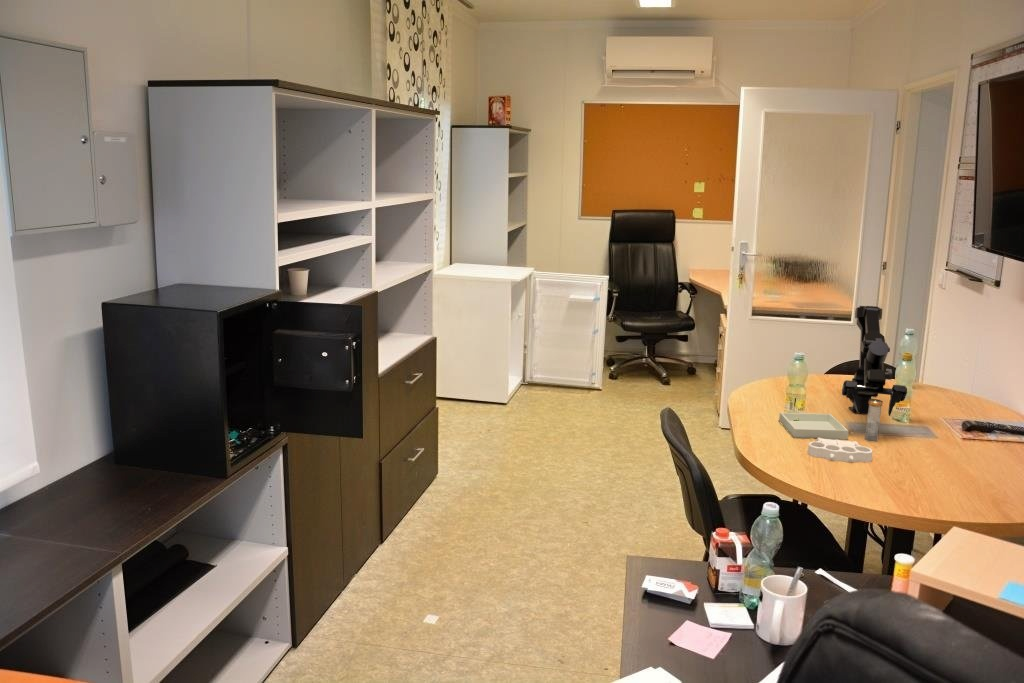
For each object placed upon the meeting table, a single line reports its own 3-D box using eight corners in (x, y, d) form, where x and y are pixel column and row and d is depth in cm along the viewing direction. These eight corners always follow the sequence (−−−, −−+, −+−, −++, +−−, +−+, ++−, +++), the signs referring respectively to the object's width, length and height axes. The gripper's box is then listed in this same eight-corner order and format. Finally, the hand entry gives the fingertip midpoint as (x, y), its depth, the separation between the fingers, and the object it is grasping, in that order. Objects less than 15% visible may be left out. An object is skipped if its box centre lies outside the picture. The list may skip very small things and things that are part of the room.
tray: (779, 420, 276) (779, 412, 275) (829, 422, 275) (830, 413, 275) (793, 438, 259) (794, 429, 259) (847, 439, 259) (848, 430, 258)
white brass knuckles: (866, 450, 250) (874, 467, 237) (805, 444, 255) (809, 460, 241) (868, 440, 250) (875, 456, 236) (806, 434, 254) (810, 450, 240)
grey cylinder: (862, 437, 261) (866, 398, 258) (874, 437, 261) (879, 399, 258) (867, 441, 257) (871, 402, 254) (879, 442, 257) (884, 402, 254)
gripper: (846, 356, 262) (845, 398, 254) (910, 361, 256) (911, 404, 248) (842, 373, 271) (841, 415, 263) (903, 379, 265) (904, 421, 257)
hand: (873, 413), depth 258 cm, fingers open, 9 cm apart
